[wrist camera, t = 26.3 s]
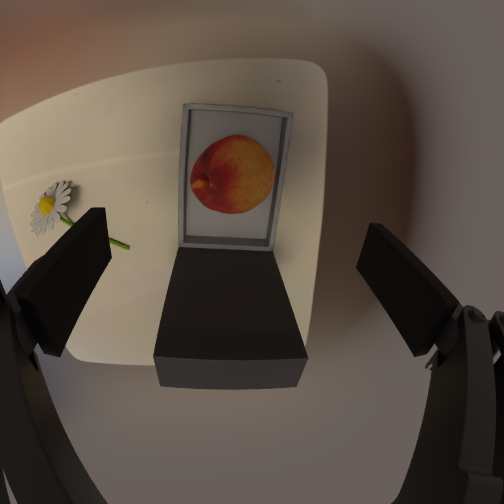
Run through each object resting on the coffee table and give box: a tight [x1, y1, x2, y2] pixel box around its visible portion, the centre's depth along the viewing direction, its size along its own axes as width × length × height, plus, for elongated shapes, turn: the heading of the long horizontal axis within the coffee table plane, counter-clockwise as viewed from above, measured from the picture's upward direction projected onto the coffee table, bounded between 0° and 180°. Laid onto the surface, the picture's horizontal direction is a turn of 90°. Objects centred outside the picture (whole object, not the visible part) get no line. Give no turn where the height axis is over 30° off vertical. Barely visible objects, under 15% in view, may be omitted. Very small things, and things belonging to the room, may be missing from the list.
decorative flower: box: [30, 182, 129, 250], centre depth 29 cm, size 8×6×15 cm
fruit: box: [190, 135, 275, 214], centre depth 26 cm, size 8×8×8 cm
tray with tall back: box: [153, 104, 308, 390], centre depth 23 cm, size 20×11×19 cm, turn 174°
